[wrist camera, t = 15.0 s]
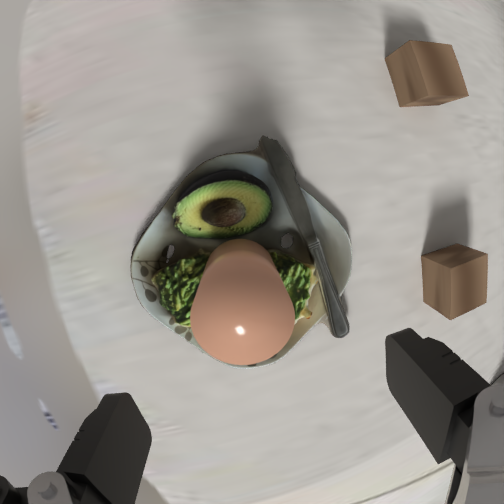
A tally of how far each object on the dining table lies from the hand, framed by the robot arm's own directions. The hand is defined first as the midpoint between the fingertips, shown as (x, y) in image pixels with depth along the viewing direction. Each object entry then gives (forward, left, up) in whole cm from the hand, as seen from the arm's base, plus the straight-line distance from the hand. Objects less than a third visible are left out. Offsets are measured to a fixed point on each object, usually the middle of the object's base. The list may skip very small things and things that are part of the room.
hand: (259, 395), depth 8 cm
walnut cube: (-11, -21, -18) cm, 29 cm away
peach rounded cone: (0, 0, -14) cm, 14 cm away
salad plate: (0, 0, -19) cm, 19 cm away
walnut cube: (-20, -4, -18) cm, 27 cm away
